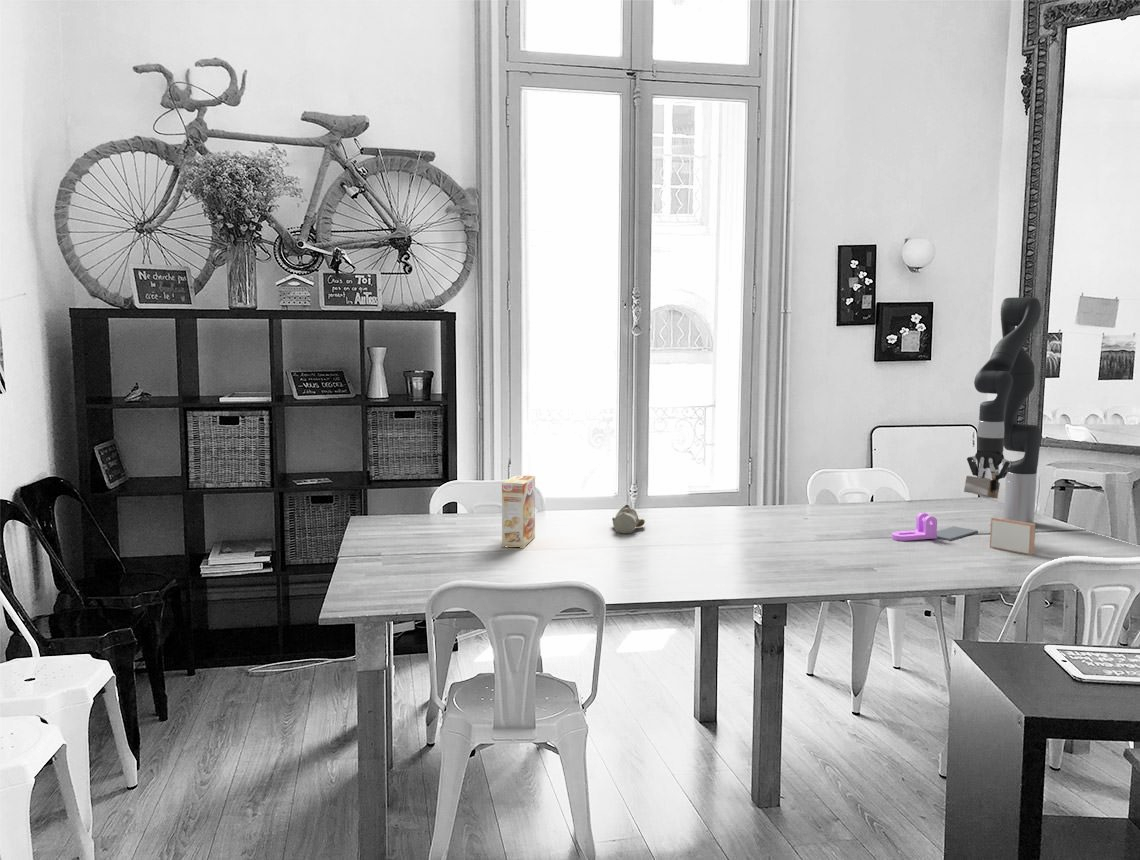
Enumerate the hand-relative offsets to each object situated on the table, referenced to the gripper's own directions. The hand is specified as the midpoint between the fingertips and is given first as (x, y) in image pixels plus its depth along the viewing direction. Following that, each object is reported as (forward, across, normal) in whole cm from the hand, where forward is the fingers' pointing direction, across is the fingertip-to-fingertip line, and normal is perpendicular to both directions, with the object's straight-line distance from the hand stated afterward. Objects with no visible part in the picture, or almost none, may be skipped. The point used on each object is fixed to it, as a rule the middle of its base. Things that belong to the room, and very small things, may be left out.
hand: (987, 490), depth 291 cm
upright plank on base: (+1, 0, +2) cm, 3 cm away
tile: (+15, -13, +10) cm, 22 cm away
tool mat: (+15, +9, +3) cm, 18 cm away
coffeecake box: (+15, +88, +116) cm, 146 cm away
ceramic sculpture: (+15, +79, +79) cm, 113 cm away
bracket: (+15, +14, +18) cm, 27 cm away
